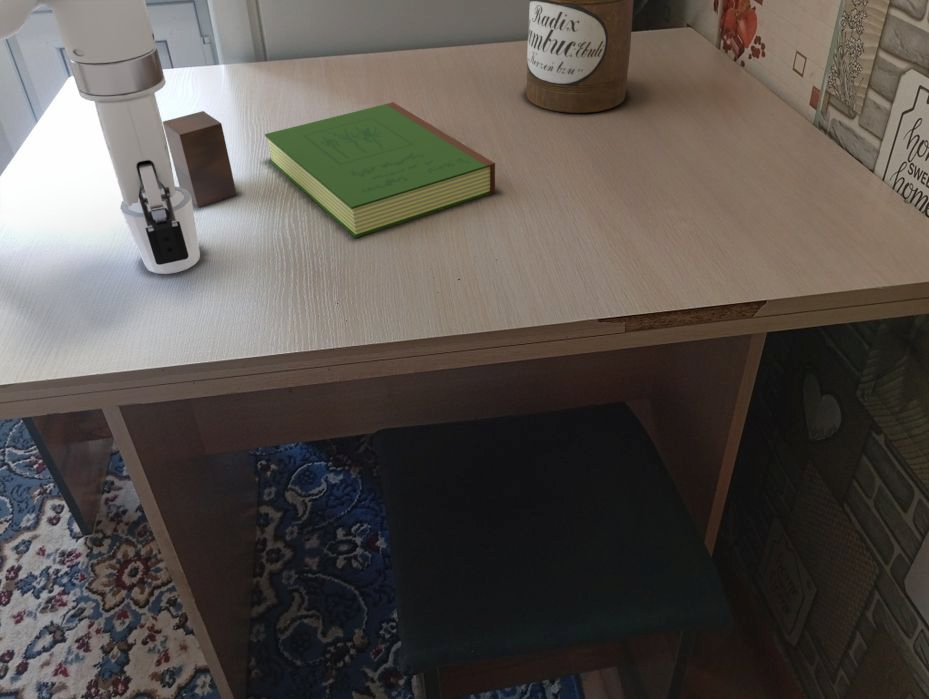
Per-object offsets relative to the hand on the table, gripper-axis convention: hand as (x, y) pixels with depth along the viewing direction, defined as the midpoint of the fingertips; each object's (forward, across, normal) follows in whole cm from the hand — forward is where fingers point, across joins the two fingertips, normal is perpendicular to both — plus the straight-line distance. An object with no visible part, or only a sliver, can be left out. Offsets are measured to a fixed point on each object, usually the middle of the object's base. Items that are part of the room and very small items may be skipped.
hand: (167, 242), depth 82 cm
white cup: (+2, 0, 0) cm, 2 cm away
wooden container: (+2, -23, +62) cm, 66 cm away
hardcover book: (+2, -10, +26) cm, 28 cm away
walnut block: (+2, -14, +6) cm, 15 cm away
